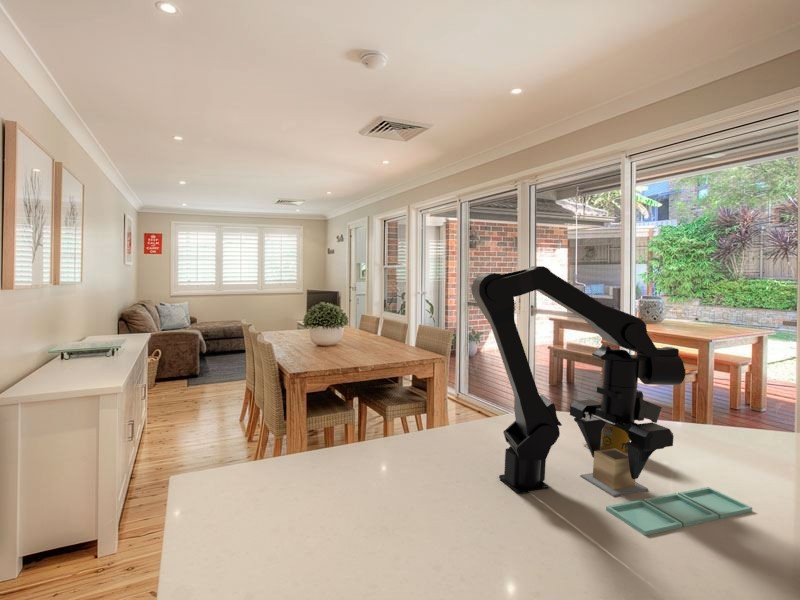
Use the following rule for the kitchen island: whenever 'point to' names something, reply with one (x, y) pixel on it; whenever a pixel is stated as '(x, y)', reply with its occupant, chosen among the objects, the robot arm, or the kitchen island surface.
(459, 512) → the kitchen island surface
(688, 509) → the dish middle
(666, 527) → the dish near
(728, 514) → the dish far
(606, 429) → the condiment
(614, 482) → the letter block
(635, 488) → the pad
